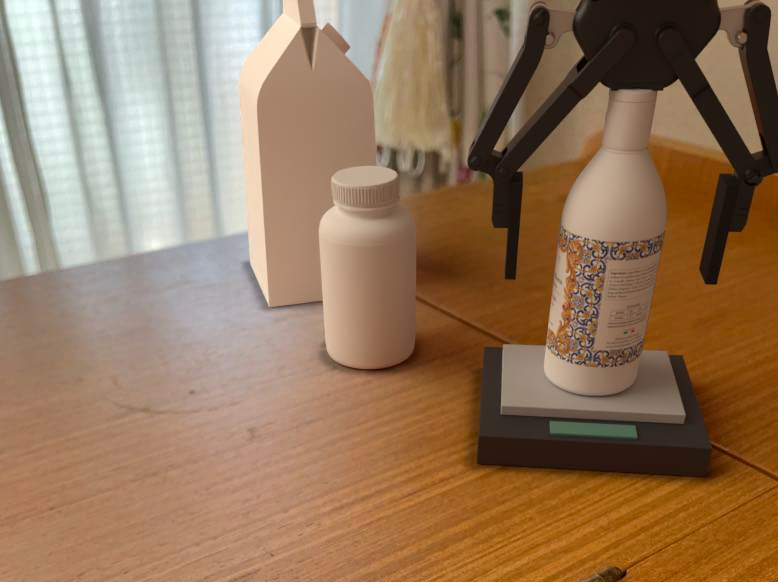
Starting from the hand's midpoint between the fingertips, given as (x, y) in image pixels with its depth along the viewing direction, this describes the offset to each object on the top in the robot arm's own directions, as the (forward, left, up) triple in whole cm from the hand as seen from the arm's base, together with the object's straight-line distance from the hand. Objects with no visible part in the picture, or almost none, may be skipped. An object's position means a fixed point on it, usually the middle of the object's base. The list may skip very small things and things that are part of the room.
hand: (607, 275), depth 61 cm
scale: (0, +1, -11) cm, 11 cm away
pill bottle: (+18, -9, -11) cm, 23 cm away
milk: (+26, -25, -11) cm, 38 cm away
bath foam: (0, 0, -8) cm, 8 cm away
